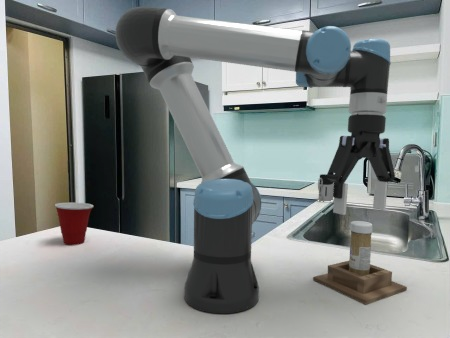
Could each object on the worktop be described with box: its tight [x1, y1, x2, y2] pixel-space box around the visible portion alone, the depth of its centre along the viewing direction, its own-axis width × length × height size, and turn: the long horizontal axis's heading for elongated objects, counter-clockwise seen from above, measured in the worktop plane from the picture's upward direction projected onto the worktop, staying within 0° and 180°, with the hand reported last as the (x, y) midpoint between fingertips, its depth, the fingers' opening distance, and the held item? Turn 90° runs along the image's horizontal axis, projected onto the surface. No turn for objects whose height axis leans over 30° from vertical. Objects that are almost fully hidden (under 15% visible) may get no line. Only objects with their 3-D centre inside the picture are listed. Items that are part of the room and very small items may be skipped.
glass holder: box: [317, 173, 334, 201], centre depth 193 cm, size 9×14×15 cm, turn 139°
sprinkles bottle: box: [348, 220, 373, 276], centre depth 77 cm, size 5×5×14 cm
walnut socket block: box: [312, 260, 408, 306], centre depth 78 cm, size 14×14×4 cm
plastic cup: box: [54, 202, 94, 246], centre depth 106 cm, size 11×11×12 cm
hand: (360, 211), depth 77 cm, fingers open, 13 cm apart
